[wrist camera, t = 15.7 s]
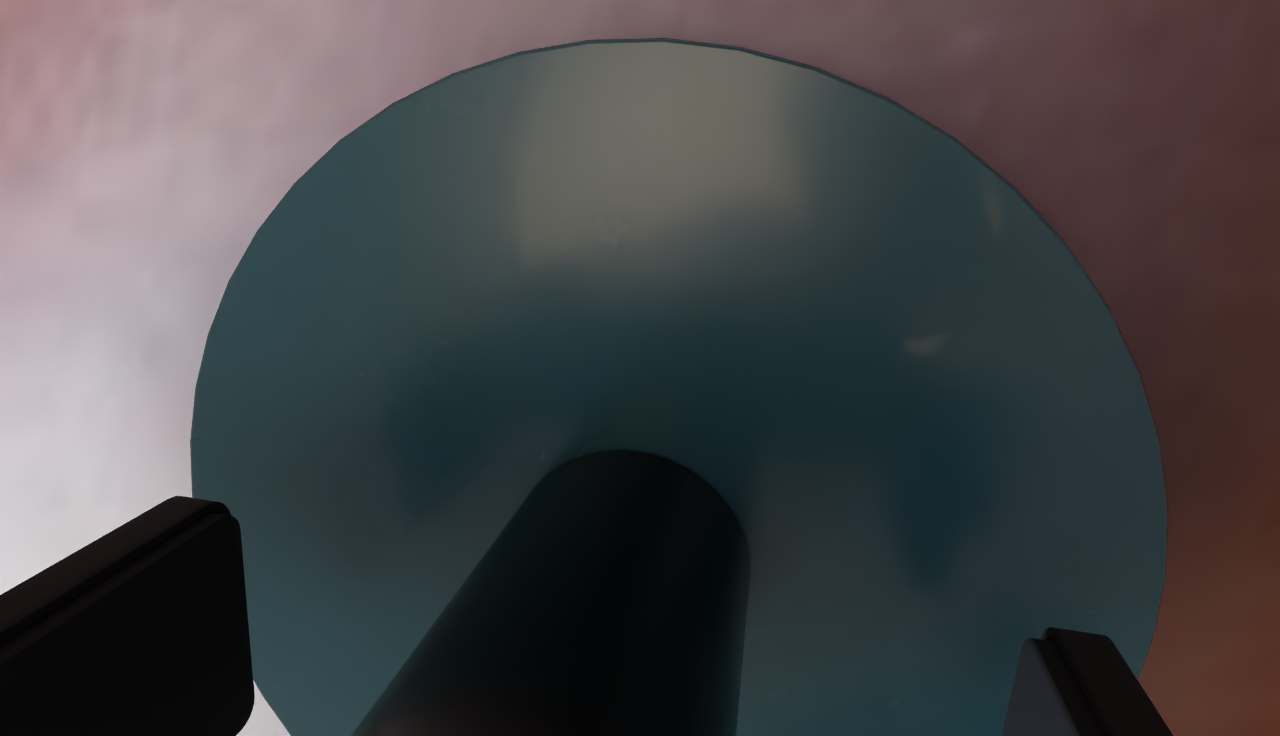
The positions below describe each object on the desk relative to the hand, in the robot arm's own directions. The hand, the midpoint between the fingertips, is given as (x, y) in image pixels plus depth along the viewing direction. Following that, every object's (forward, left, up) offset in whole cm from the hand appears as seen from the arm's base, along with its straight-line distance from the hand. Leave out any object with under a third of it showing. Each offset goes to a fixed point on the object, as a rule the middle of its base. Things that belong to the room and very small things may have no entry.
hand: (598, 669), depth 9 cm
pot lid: (0, 0, -3) cm, 3 cm away
